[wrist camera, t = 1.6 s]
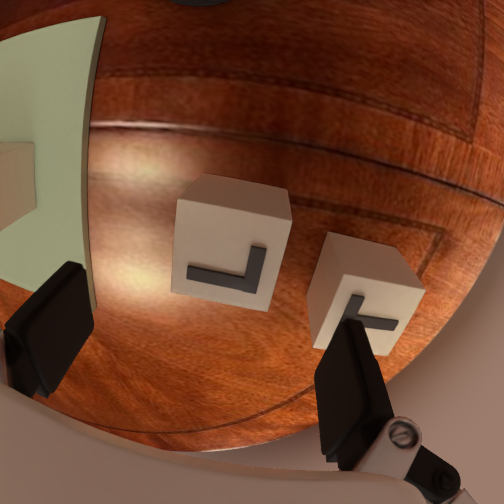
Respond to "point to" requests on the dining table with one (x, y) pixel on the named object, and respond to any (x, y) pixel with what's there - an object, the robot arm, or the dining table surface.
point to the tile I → (16, 181)
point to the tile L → (230, 241)
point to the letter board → (50, 145)
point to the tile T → (362, 291)
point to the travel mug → (199, 2)
